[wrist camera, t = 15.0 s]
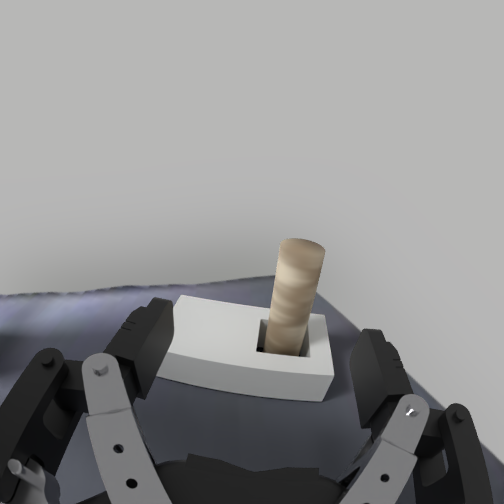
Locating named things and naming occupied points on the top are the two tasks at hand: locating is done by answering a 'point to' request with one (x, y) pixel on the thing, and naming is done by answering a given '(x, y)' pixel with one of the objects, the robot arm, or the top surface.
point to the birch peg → (293, 295)
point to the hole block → (244, 352)
